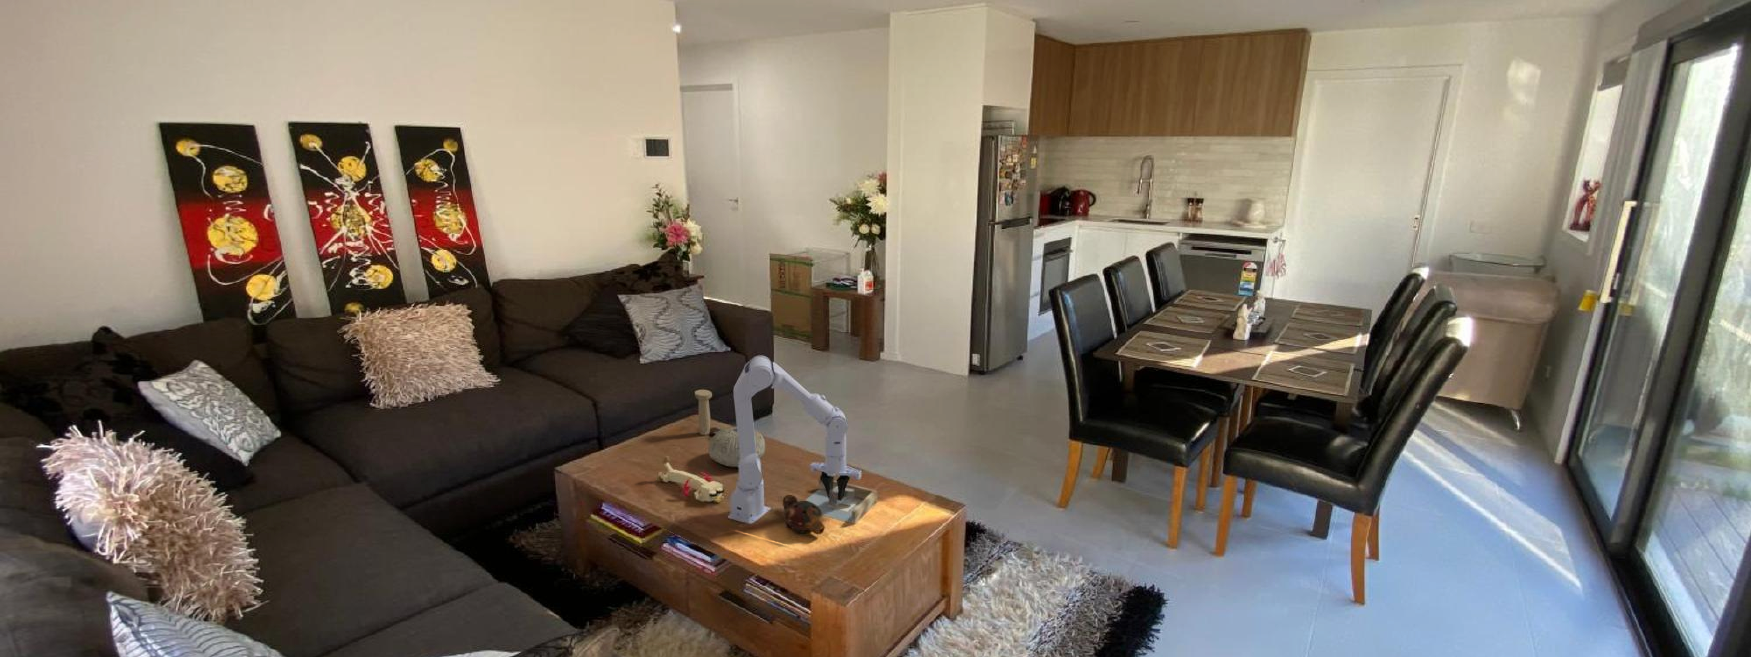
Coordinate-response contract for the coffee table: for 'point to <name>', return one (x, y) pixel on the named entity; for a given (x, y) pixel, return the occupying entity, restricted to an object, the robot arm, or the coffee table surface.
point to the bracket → (847, 498)
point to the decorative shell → (731, 447)
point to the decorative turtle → (802, 515)
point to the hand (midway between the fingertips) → (835, 498)
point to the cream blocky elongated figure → (693, 483)
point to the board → (834, 512)
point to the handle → (704, 410)
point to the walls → (861, 493)
